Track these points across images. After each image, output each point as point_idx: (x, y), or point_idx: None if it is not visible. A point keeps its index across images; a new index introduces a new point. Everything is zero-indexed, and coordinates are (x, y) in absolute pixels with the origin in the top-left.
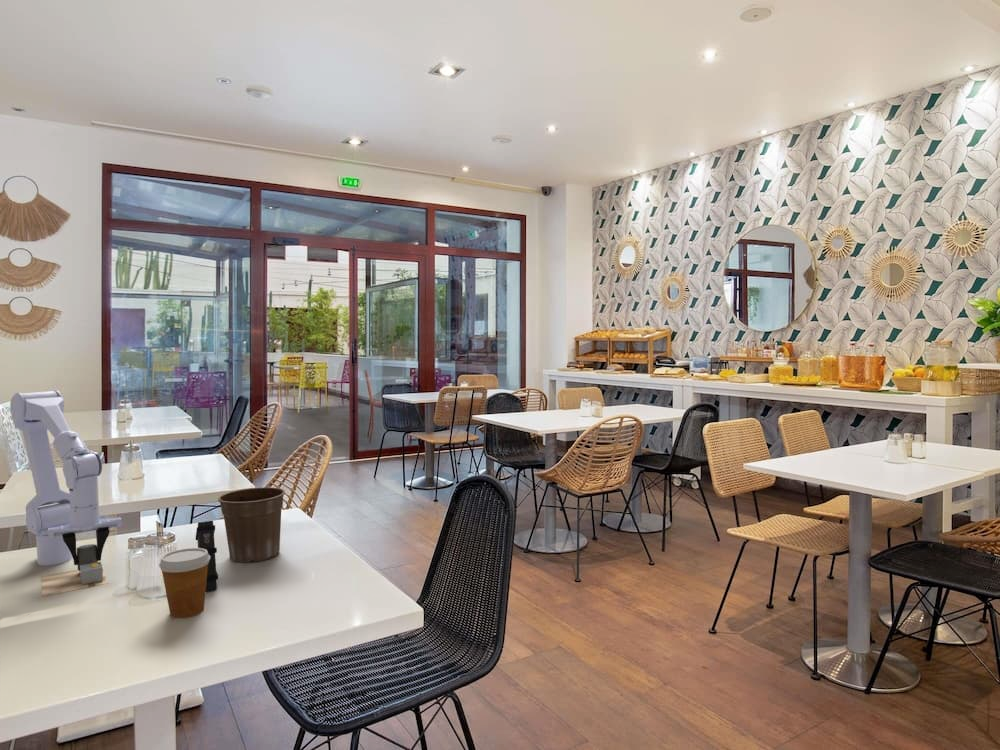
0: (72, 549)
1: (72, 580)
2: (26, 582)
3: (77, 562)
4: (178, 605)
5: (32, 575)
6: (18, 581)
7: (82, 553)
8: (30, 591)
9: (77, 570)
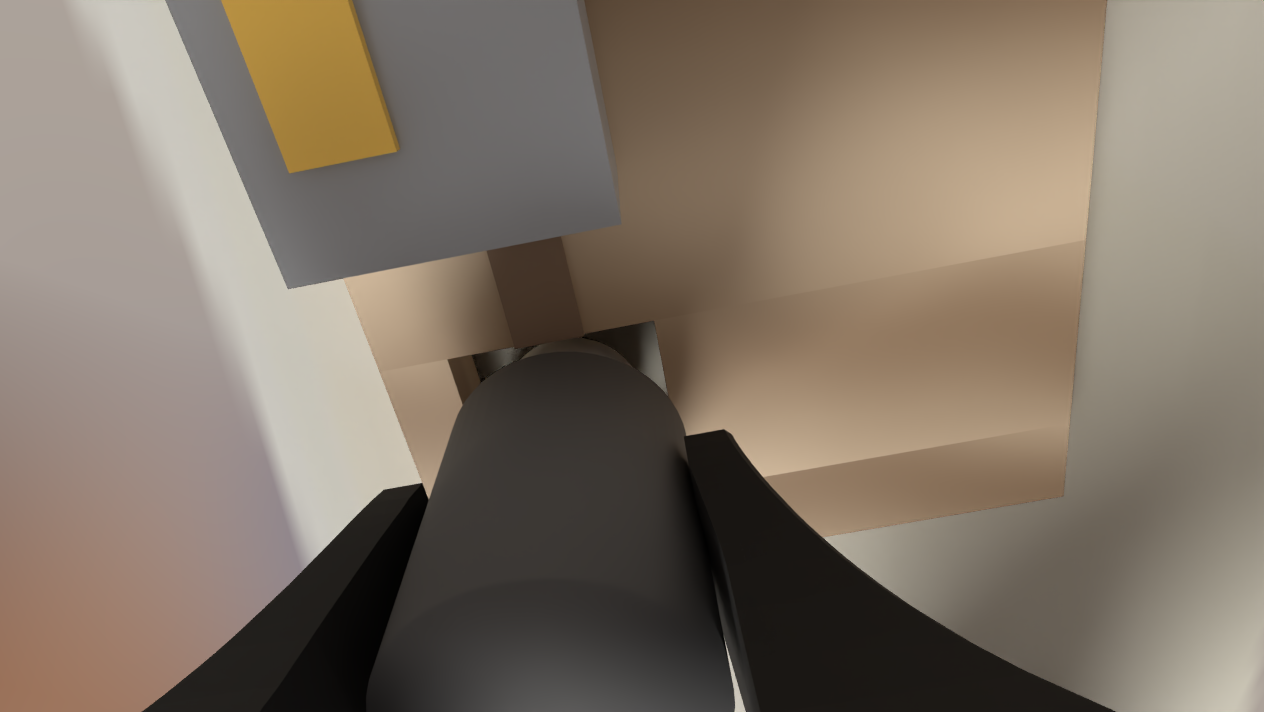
0: (812, 581)
1: (718, 146)
2: (1146, 517)
3: (690, 447)
4: None
5: (1078, 672)
6: (1201, 572)
7: (608, 523)
8: (1153, 204)
9: None
